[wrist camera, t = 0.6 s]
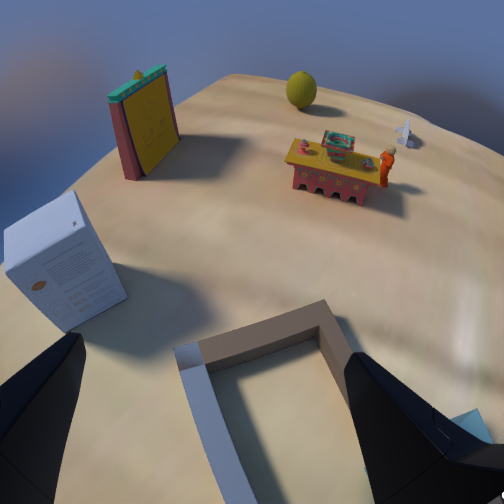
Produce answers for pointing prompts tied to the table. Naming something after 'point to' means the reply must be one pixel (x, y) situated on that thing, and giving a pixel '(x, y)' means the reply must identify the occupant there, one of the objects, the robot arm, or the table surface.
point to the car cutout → (405, 135)
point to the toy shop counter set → (300, 156)
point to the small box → (61, 263)
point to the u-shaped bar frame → (239, 351)
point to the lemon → (301, 89)
